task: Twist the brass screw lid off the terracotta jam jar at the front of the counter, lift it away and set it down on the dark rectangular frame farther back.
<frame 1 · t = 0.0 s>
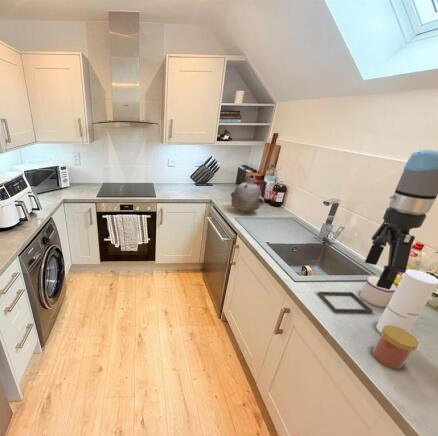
hand: (376, 274, 72), 26 cm above the worktop, tool pointing down, fingers open, 13 cm apart
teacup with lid: (371, 298, 100), on the worktop
jar: (385, 360, 74), on the worktop
jar lid: (399, 336, 70), point 10 cm above the worktop, screwed on, not yet turned
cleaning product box: (250, 203, 209), on the worktop
dark rectangular frame: (342, 304, 96), on the worktop
cylindrical container: (388, 334, 83), on the worktop
jug: (244, 211, 190), on the worktop
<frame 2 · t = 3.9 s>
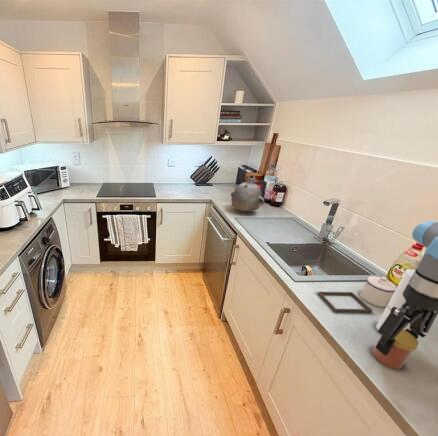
hand: (392, 349, 72), 5 cm above the worktop, tool pointing down, fingers closed on jar lid, 7 cm apart
jar lid: (399, 336, 70), point 10 cm above the worktop, screwed on, not yet turned, touching gripper
everything else where it was.
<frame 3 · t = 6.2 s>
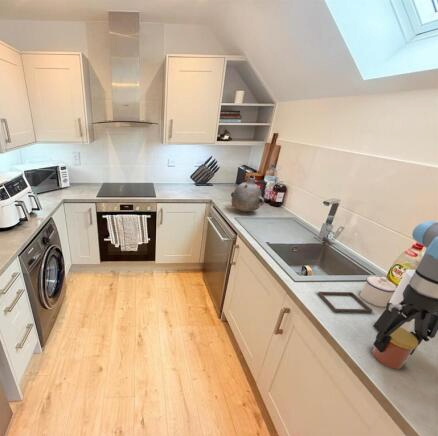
hand: (392, 349, 72), 5 cm above the worktop, tool pointing down, fingers closed on jar lid, 7 cm apart
jar lid: (400, 335, 70), point 11 cm above the worktop, off its thread, touching gripper
everything else where it was.
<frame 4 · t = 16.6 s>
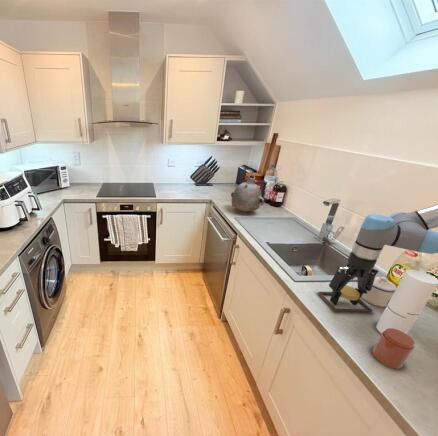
hand: (342, 302, 96), 1 cm above the worktop, tool pointing down, fingers closed on jar lid, 7 cm apart
jar lid: (347, 291, 94), point 7 cm above the worktop, off its thread, touching gripper
everything else where it was.
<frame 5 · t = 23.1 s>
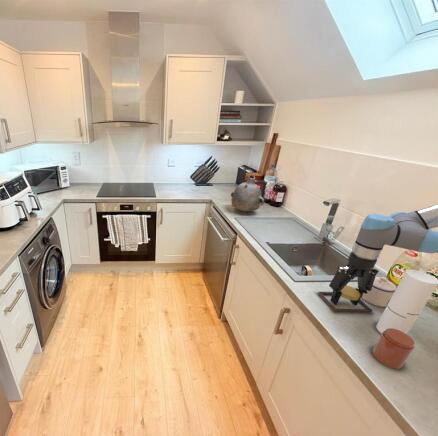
hand: (343, 302, 96), 1 cm above the worktop, tool pointing down, fingers closed on jar lid, 7 cm apart
jar lid: (348, 291, 94), point 7 cm above the worktop, off its thread, touching gripper
everything else where it was.
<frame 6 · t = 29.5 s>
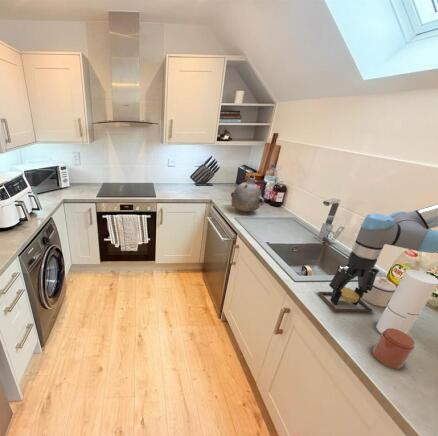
hand: (343, 302, 96), 1 cm above the worktop, tool pointing down, fingers closed on jar lid, 7 cm apart
jar lid: (347, 293, 94), point 6 cm above the worktop, off its thread, touching gripper
everything else where it was.
when the fingers open (3 cm above the worktop, at t = 30.2 s): jar lid drops 6 cm, resting on dark rectangular frame.
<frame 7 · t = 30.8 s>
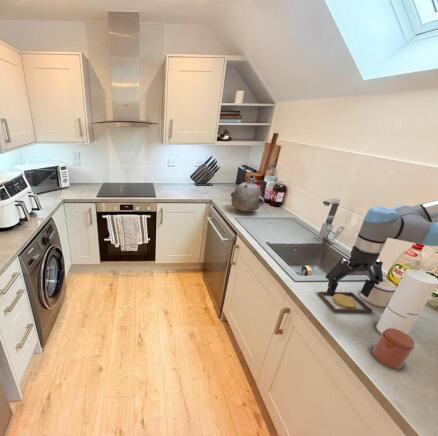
hand: (346, 294, 94), 5 cm above the worktop, tool pointing down, fingers open, 13 cm apart
jar lid: (344, 300, 96), point 2 cm above the worktop, off its thread, touching dark rectangular frame
everything else where it was.
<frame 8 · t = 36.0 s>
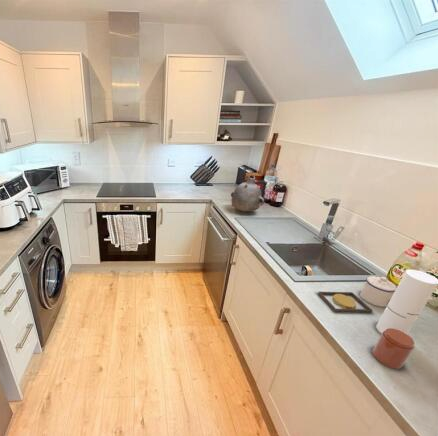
nothing on the worktop moved.
at the end: jar lid came off its thread; jar lid inside the target area on the dark rectangular frame (0.2 cm from its centre), point 1.9 cm above the dark rectangular frame's base; the gripper is holding nothing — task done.
